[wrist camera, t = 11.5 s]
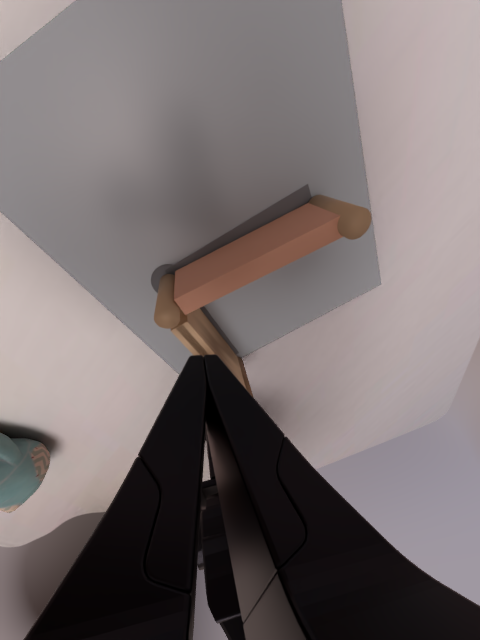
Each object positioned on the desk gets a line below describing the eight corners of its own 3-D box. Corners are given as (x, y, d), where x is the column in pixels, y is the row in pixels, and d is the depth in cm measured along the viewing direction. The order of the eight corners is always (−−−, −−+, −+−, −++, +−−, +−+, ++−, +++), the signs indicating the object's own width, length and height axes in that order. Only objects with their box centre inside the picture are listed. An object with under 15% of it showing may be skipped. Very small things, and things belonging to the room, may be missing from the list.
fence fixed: (245, 363, 23) (257, 402, 19) (230, 371, 23) (240, 411, 20) (188, 289, 18) (190, 324, 14) (170, 299, 18) (167, 337, 14)
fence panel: (167, 296, 18) (164, 333, 14) (154, 278, 17) (147, 313, 13) (330, 214, 16) (372, 231, 13) (326, 190, 16) (370, 201, 12)
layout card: (376, 281, 22) (381, 284, 21) (190, 380, 24) (190, 385, 24) (307, -173, 9) (315, -195, 8) (-76, 132, 11) (-90, 131, 11)
